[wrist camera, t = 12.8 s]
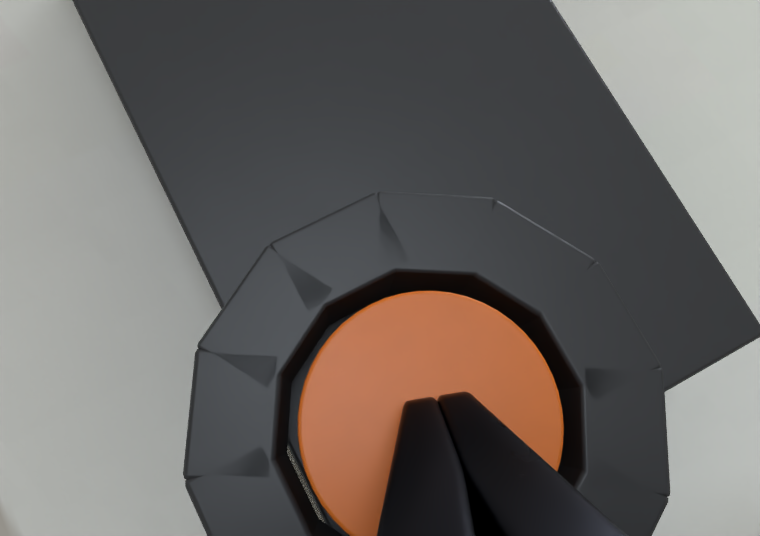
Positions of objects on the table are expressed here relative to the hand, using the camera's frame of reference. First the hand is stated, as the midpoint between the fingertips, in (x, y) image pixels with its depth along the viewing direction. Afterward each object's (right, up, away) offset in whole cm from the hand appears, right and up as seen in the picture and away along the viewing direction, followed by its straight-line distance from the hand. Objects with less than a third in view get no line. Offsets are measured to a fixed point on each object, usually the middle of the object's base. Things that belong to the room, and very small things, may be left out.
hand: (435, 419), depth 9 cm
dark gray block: (-2, +4, +8) cm, 9 cm away
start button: (0, 0, +2) cm, 2 cm away
